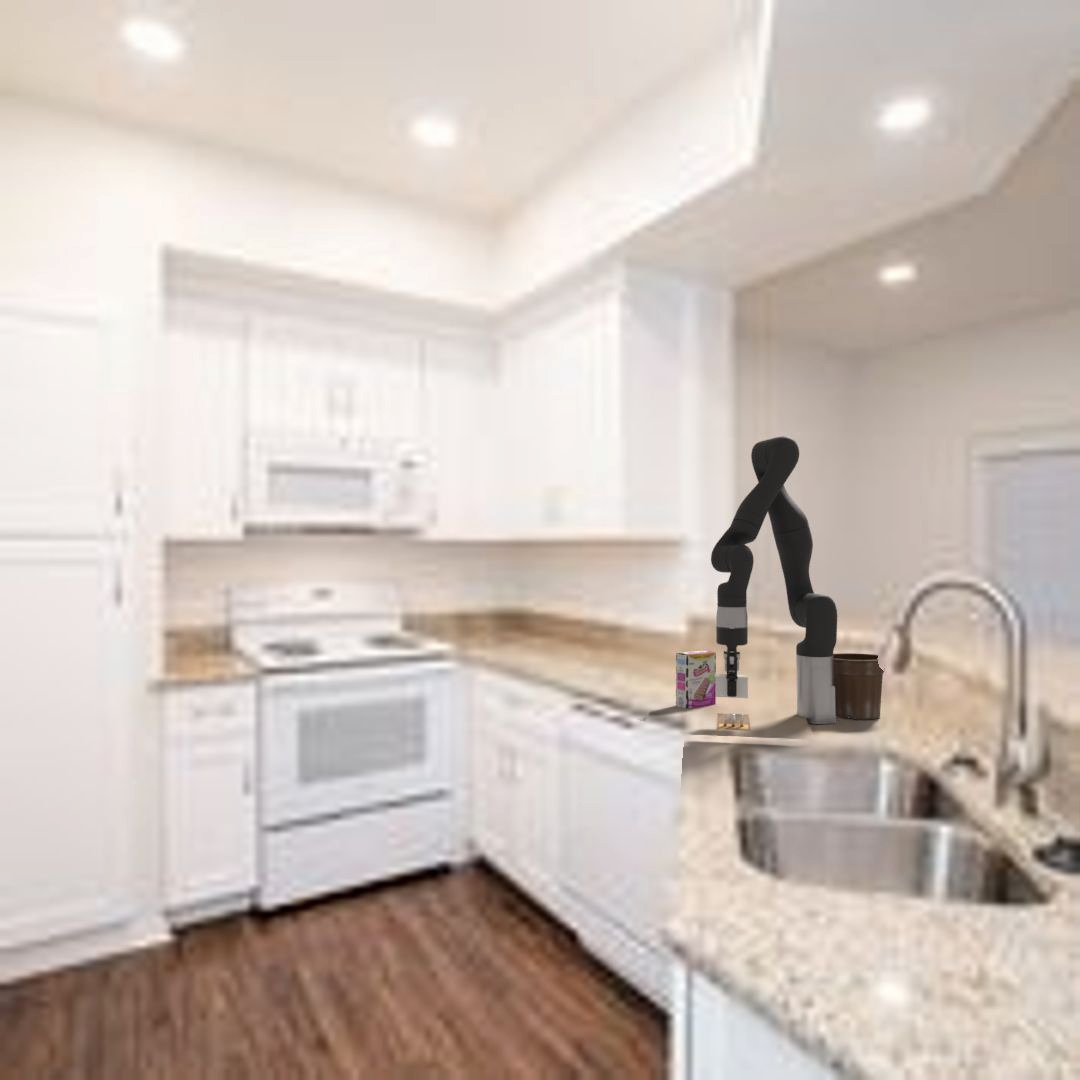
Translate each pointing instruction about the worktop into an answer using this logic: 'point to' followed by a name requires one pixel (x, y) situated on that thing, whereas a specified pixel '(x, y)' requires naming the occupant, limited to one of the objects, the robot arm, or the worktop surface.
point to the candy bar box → (695, 679)
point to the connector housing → (741, 686)
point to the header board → (737, 722)
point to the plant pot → (857, 686)
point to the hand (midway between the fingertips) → (731, 694)
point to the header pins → (733, 720)
